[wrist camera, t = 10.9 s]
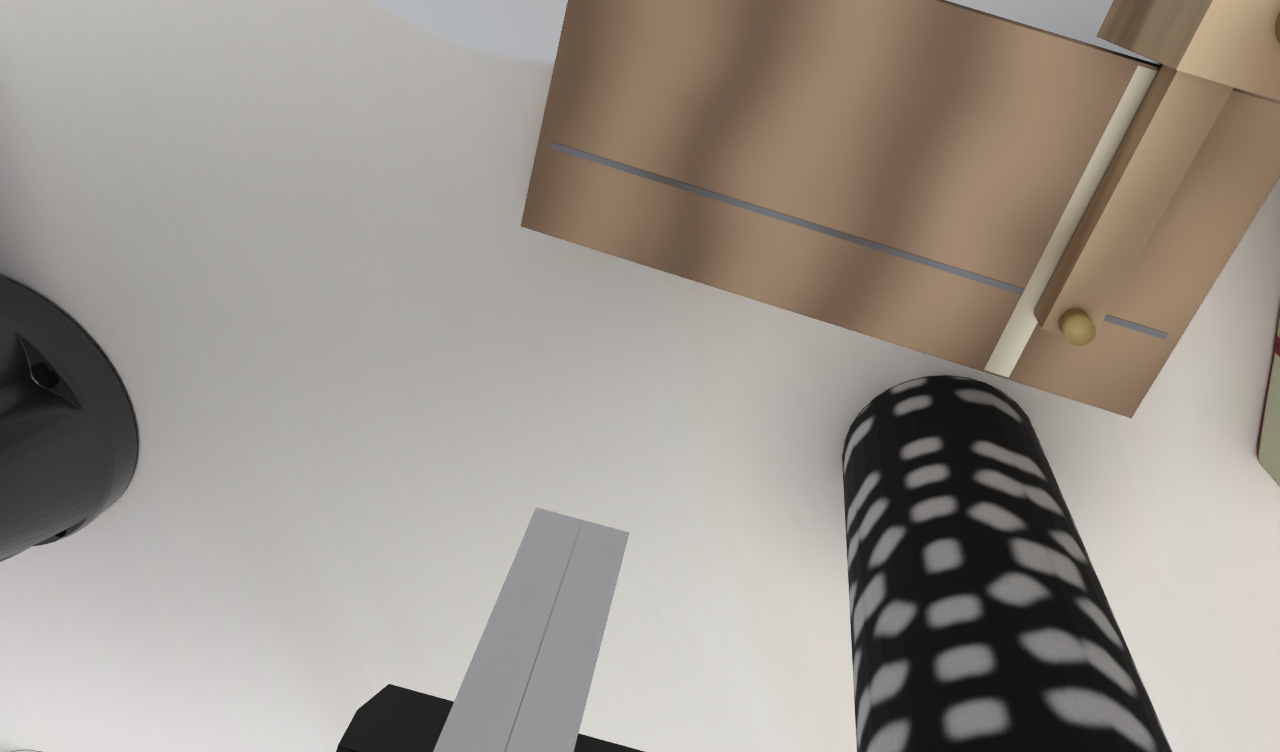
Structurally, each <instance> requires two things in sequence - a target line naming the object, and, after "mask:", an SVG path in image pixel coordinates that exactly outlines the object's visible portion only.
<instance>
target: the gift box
mask: <svg viewBox="0 0 1280 752" xmlns="http://www.w3.org/2000/svg"><path fill="white" fill-rule="evenodd" d="M1257 460H1258V461H1259V463H1260V464H1261V466H1262V467H1263V468H1264V469H1265V470H1266V471H1267V473H1268V474H1269V475H1270V476H1271V477H1272V478H1273V480H1274V481H1275V482H1276V483H1277V484H1278V485H1279V486H1280V318H1279V325H1278V332H1277V338H1276V345H1275V353H1274V359H1273V364H1272V370H1271V376H1270V382H1269V388H1268V393H1267V399H1266V404H1265V409H1264V414H1263V421H1262V427H1261V434H1260V440H1259V446H1258V456H1257Z"/></svg>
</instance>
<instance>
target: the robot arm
mask: <svg viewBox="0 0 1280 752" xmlns="http://www.w3.org/2000/svg"><path fill="white" fill-rule="evenodd" d="M136 457H137V436H136V428H135V423H134V418H133V415H132V411H131V408H130V405H129V402H128V400H127V397H126V395H125V393H124V390H123V388H122V386H121V384H120V382H119V380H118V378H117V377H116V375H115V373H114V372H113V370H112V368H111V367H110V365H109V364H108V362H107V361H106V359H105V358H104V357H103V355H102V354H101V352H100V351H99V350H98V349H97V347H96V346H95V345H94V344H93V343H92V341H91V340H90V339H89V338H88V337H87V336H86V335H85V334H84V333H83V331H82V330H80V329H79V328H78V327H77V326H76V325H75V324H74V323H73V322H72V321H71V320H70V319H69V318H68V317H67V316H65V315H64V314H63V313H62V312H61V311H59V310H58V309H57V308H56V307H54V306H53V305H51V304H50V303H49V302H47V301H46V300H44V299H43V298H41V297H40V296H38V295H37V294H35V293H33V292H32V291H30V290H28V289H26V288H25V287H23V286H21V285H19V284H17V283H15V282H13V281H10V280H8V279H6V278H3V277H1V276H0V562H1V561H3V560H6V559H8V558H10V557H12V556H15V555H17V554H19V553H21V552H23V551H24V550H26V549H28V548H29V547H31V546H38V545H43V544H48V543H52V542H55V541H57V540H60V539H63V538H65V537H68V536H70V535H72V534H74V533H76V532H77V531H79V530H81V529H82V528H84V527H85V526H87V525H88V524H89V523H90V522H92V521H93V520H94V519H95V518H96V517H98V516H99V515H100V514H101V513H102V512H104V511H105V510H106V509H107V508H108V507H110V506H111V505H112V504H113V503H114V502H116V501H117V499H118V498H119V497H120V496H121V495H122V494H123V492H124V491H125V489H126V488H127V486H128V484H129V482H130V480H131V478H132V475H133V472H134V468H135V464H136ZM628 535H629V532H625V531H621V530H617V529H614V528H610V527H606V526H602V525H599V524H595V523H591V522H587V521H584V520H580V519H576V518H573V517H569V516H565V515H561V514H558V513H554V512H550V511H546V510H543V509H539V508H536V509H535V512H534V514H533V516H532V519H531V521H530V523H529V526H528V528H527V530H526V533H525V535H524V538H523V540H522V542H521V545H520V547H519V549H518V552H517V554H516V557H515V559H514V561H513V564H512V566H511V568H510V571H509V573H508V576H507V578H506V580H505V583H504V585H503V587H502V590H501V592H500V594H499V597H498V599H497V602H496V604H495V606H494V609H493V611H492V613H491V616H490V618H489V621H488V623H487V625H486V628H485V630H484V632H483V635H482V637H481V640H480V642H479V644H478V647H477V649H476V651H475V654H474V656H473V658H472V661H471V663H470V666H469V668H468V670H467V673H466V675H465V677H464V680H463V682H462V685H461V687H460V689H459V692H458V694H457V696H456V699H455V701H454V702H453V701H449V700H446V699H442V698H438V697H435V696H431V695H427V694H424V693H420V692H416V691H413V690H409V689H405V688H402V687H398V686H395V685H391V684H388V685H387V686H386V687H385V688H383V689H382V690H381V691H380V692H379V693H377V694H376V695H375V696H374V697H373V698H371V699H370V700H369V701H368V702H367V703H365V704H364V705H363V706H362V707H361V708H359V709H358V710H357V711H356V713H355V715H354V717H353V719H352V721H351V723H350V724H349V726H348V728H347V730H346V732H345V734H344V736H343V737H342V739H341V741H340V743H339V745H338V748H337V751H336V752H644V751H640V750H637V749H633V748H629V747H626V746H622V745H618V744H615V743H611V742H607V741H604V740H600V739H596V738H593V737H589V736H585V735H582V734H578V732H579V728H580V724H581V721H582V717H583V713H584V709H585V705H586V701H587V697H588V693H589V689H590V685H591V681H592V677H593V673H594V669H595V665H596V661H597V657H598V653H599V649H600V646H601V642H602V638H603V634H604V630H605V626H606V622H607V618H608V614H609V610H610V606H611V602H612V598H613V594H614V590H615V586H616V582H617V578H618V574H619V571H620V567H621V563H622V559H623V555H624V551H625V547H626V543H627V539H628Z"/></svg>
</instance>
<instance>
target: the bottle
mask: <svg viewBox="0 0 1280 752" xmlns="http://www.w3.org/2000/svg"><path fill="white" fill-rule="evenodd" d="M14 752H37V751H30V750H21V751H14Z"/></svg>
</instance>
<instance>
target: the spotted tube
mask: <svg viewBox="0 0 1280 752" xmlns="http://www.w3.org/2000/svg"><path fill="white" fill-rule="evenodd" d="M842 461H843V481H844V501H845V520H846V540H847V560H848V580H849V600H850V620H851V640H852V660H853V679H854V699H855V719H856V739H857V752H1172V750H1171V748H1170V745H1169V743H1168V741H1167V738H1166V736H1165V734H1164V731H1163V729H1162V727H1161V724H1160V722H1159V720H1158V717H1157V715H1156V713H1155V710H1154V708H1153V706H1152V703H1151V701H1150V699H1149V696H1148V694H1147V692H1146V689H1145V687H1144V685H1143V682H1142V680H1141V678H1140V675H1139V673H1138V671H1137V668H1136V666H1135V664H1134V661H1133V659H1132V657H1131V654H1130V652H1129V650H1128V647H1127V645H1126V643H1125V640H1124V638H1123V636H1122V633H1121V631H1120V629H1119V626H1118V624H1117V622H1116V619H1115V617H1114V615H1113V612H1112V610H1111V608H1110V605H1109V603H1108V601H1107V598H1106V596H1105V594H1104V591H1103V589H1102V587H1101V584H1100V582H1099V580H1098V577H1097V575H1096V573H1095V570H1094V568H1093V566H1092V563H1091V561H1090V559H1089V556H1088V554H1087V552H1086V549H1085V547H1084V545H1083V542H1082V540H1081V538H1080V535H1079V533H1078V531H1077V528H1076V526H1075V524H1074V521H1073V519H1072V517H1071V514H1070V512H1069V510H1068V507H1067V505H1066V503H1065V500H1064V498H1063V496H1062V493H1061V491H1060V489H1059V486H1058V484H1057V482H1056V479H1055V477H1054V475H1053V472H1052V470H1051V468H1050V465H1049V463H1048V461H1047V458H1046V456H1045V454H1044V451H1043V449H1042V447H1041V444H1040V442H1039V440H1038V437H1037V435H1036V433H1035V430H1034V428H1033V426H1032V424H1031V422H1030V420H1029V418H1028V416H1027V415H1026V414H1025V413H1024V411H1023V410H1022V409H1021V408H1020V407H1019V405H1018V404H1017V403H1016V402H1015V401H1013V400H1012V399H1011V398H1009V397H1008V396H1007V395H1006V394H1004V393H1003V392H1001V391H1000V390H998V389H996V388H994V387H992V386H990V385H988V384H986V383H982V382H979V381H976V380H972V379H969V378H963V377H953V376H935V377H925V378H920V379H916V380H912V381H908V382H905V383H903V384H900V385H898V386H896V387H893V388H891V389H889V390H887V391H886V392H884V393H883V394H881V395H880V396H878V397H877V398H875V399H874V400H872V401H871V402H870V403H869V404H868V405H867V406H866V407H865V408H864V409H863V410H862V411H861V412H860V414H859V415H858V416H857V418H856V419H855V421H854V422H853V424H852V425H851V427H850V430H849V432H848V434H847V437H846V439H845V443H844V449H843V455H842Z"/></svg>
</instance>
